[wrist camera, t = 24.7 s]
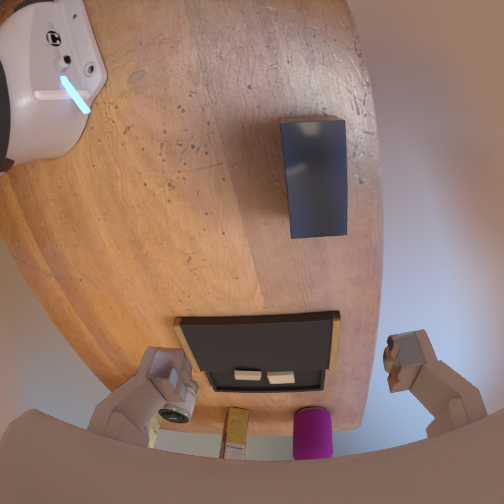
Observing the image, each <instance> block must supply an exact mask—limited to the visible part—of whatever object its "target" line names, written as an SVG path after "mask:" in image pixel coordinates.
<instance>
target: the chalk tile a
mask: <svg viewBox="0 0 504 504" xmlns="http://www.w3.org/2000/svg"><path fill="white" fill-rule="evenodd" d="M234 376H235V379H237V380H260V379H261V371H235V373H234Z"/></svg>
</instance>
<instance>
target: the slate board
mask: <svg viewBox="0 0 504 504" xmlns="http://www.w3.org/2000/svg"><path fill="white" fill-rule="evenodd" d="M340 325H341V318H340V313H339V311H331V312H319V313H304V314H288V315H269V316H243V317H176V319H175V321H174V324H173V328H174V330H175V332H176V335H177V337H178V339H179V341H180V343H181V345H182V347H183V349H184V351H185V353H186V355H187V358H188V360H189V361H190V363H191V366H192V368H193V369H194V371H195V372H201V371H212V372H235V371H261V372H287V371H306V370H321V369H329V370H335V367H336V360H337V352H338V344H339V335H340Z"/></svg>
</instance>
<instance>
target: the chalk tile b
mask: <svg viewBox="0 0 504 504" xmlns="http://www.w3.org/2000/svg"><path fill="white" fill-rule="evenodd" d="M267 377H268V379H269V381H270V383H271V384H280V383H295V378H294V373H293V371H287V372H267Z"/></svg>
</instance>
